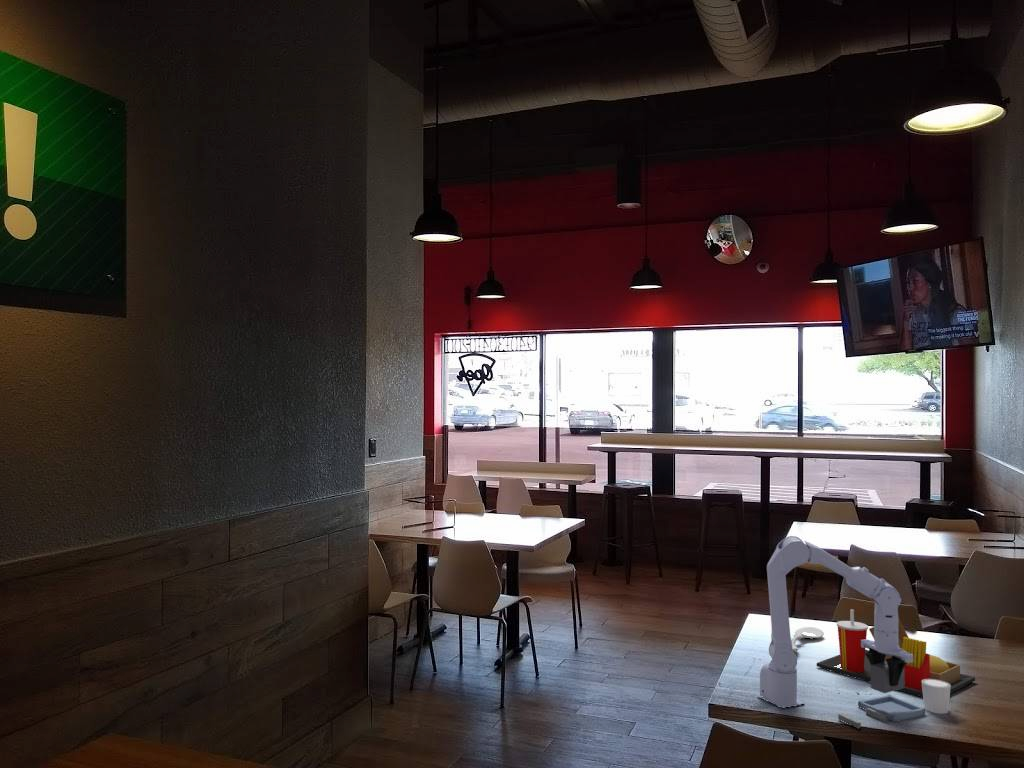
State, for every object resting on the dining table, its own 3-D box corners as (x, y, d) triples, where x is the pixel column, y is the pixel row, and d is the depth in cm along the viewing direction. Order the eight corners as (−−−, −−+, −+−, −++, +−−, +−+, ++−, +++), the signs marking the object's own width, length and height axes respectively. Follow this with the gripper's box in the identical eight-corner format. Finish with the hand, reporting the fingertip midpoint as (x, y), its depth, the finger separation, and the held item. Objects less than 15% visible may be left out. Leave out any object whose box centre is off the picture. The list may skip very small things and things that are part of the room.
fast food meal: (936, 703, 211) (936, 634, 212) (816, 669, 239) (816, 608, 239) (975, 684, 227) (974, 619, 228) (858, 653, 254) (858, 596, 255)
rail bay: (838, 720, 198) (838, 714, 198) (868, 713, 202) (868, 707, 203) (857, 729, 192) (857, 722, 193) (888, 722, 197) (888, 716, 197)
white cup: (941, 704, 210) (941, 678, 210) (956, 714, 203) (956, 687, 203) (916, 704, 209) (916, 678, 210) (930, 714, 202) (930, 687, 203)
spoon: (768, 653, 253) (768, 642, 254) (801, 632, 278) (801, 622, 279) (796, 659, 248) (796, 648, 248) (827, 637, 273) (827, 627, 273)
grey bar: (870, 688, 205) (870, 665, 205) (890, 683, 208) (890, 660, 209) (884, 693, 201) (884, 669, 201) (904, 687, 205) (904, 665, 205)
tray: (858, 707, 207) (858, 701, 207) (889, 700, 212) (889, 695, 212) (893, 722, 197) (893, 716, 197) (925, 714, 202) (925, 709, 202)
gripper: (921, 635, 200) (921, 689, 200) (873, 621, 213) (874, 671, 213) (902, 638, 197) (902, 693, 197) (855, 624, 210) (855, 675, 210)
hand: (886, 682), depth 205 cm, fingers closed on grey bar, 4 cm apart
